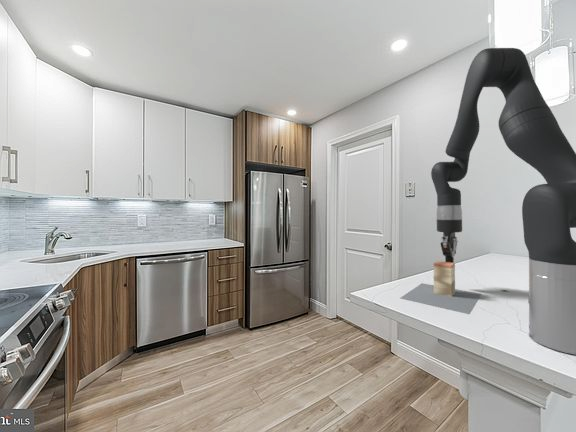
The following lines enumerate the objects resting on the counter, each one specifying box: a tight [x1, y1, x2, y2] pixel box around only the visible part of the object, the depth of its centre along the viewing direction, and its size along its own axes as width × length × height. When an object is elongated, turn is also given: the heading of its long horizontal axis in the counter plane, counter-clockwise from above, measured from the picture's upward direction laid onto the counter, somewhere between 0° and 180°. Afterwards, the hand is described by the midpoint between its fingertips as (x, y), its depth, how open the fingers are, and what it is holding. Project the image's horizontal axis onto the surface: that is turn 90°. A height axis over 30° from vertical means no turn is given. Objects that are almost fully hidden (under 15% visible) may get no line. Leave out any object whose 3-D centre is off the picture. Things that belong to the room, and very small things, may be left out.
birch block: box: [433, 260, 456, 297], centre depth 82 cm, size 5×5×10 cm
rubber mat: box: [399, 283, 482, 315], centre depth 79 cm, size 18×22×1 cm
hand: (449, 267), depth 86 cm, fingers closed
